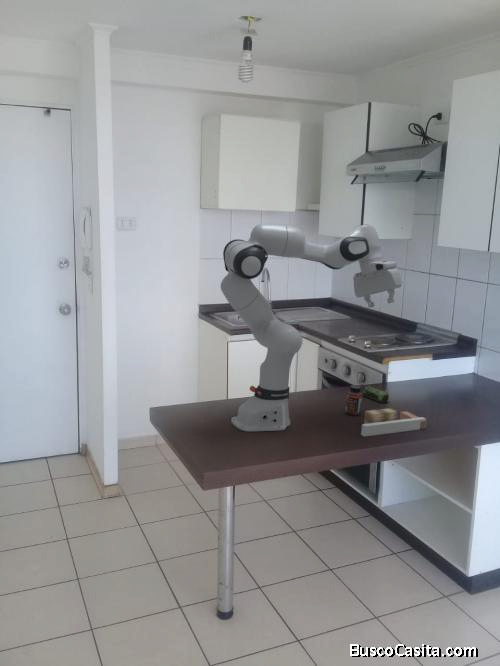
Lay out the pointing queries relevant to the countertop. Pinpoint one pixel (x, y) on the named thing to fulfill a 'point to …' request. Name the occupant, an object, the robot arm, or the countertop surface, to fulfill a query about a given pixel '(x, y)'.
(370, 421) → the long beige block
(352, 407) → the supplement bottle
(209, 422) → the countertop surface
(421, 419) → the board
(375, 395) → the vegetable
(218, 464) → the countertop surface
